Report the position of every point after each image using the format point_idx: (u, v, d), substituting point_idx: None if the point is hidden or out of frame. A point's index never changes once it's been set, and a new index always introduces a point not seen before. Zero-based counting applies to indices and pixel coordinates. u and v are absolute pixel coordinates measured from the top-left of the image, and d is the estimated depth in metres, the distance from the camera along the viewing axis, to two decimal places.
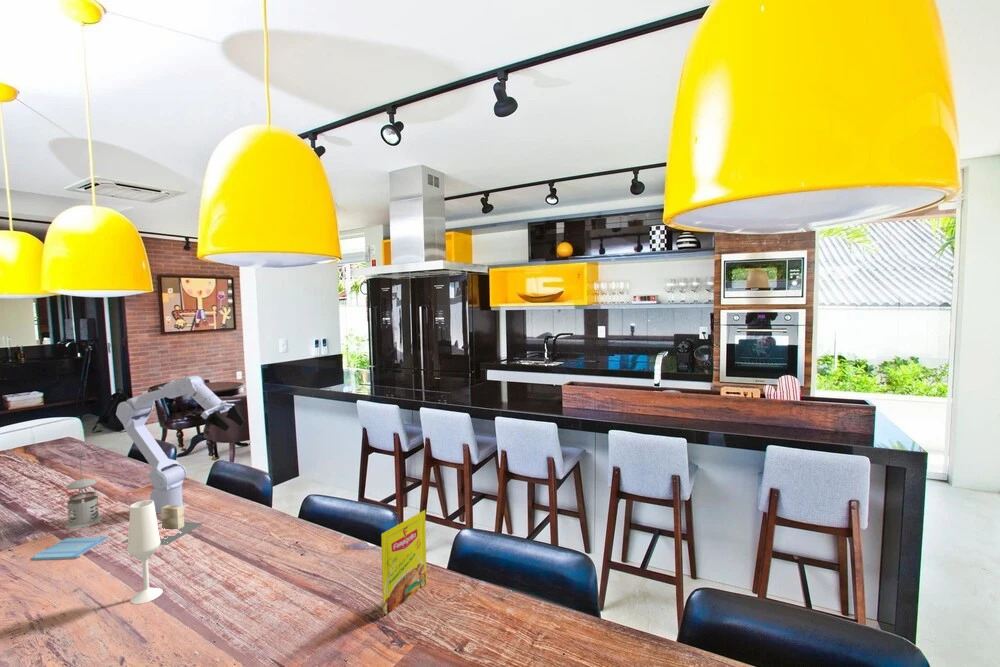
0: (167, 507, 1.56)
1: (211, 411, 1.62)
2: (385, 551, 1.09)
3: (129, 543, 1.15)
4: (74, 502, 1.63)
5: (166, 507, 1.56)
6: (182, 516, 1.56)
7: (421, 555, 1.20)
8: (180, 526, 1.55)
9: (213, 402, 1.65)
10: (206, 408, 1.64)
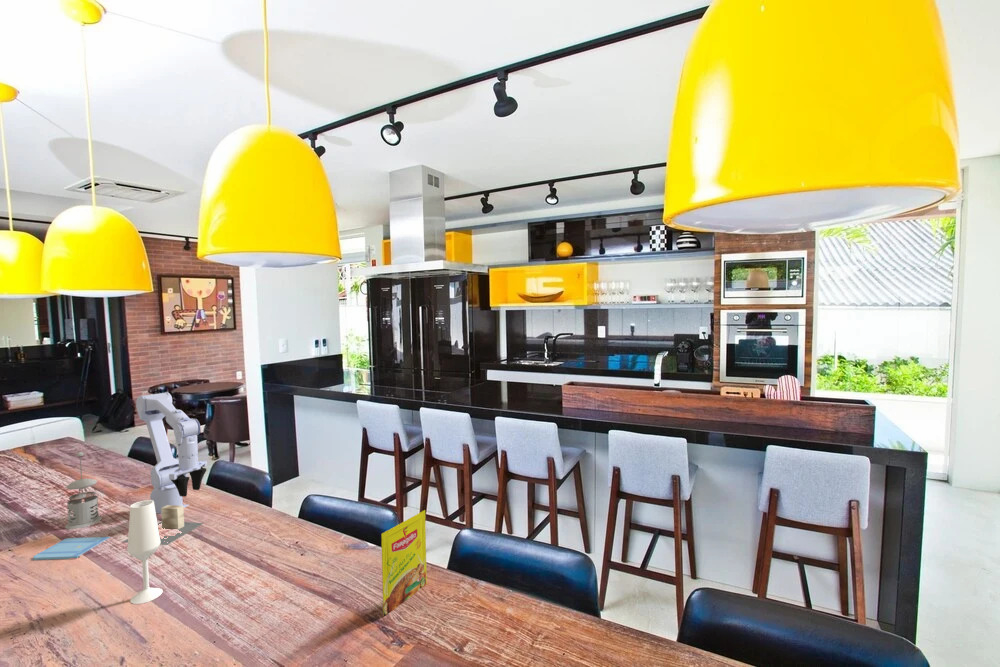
0: (167, 507, 1.56)
1: (181, 473, 1.59)
2: (385, 551, 1.09)
3: (129, 543, 1.15)
4: (74, 502, 1.63)
5: (166, 507, 1.56)
6: (182, 516, 1.56)
7: (421, 555, 1.20)
8: (180, 526, 1.55)
9: (189, 464, 1.61)
10: (180, 463, 1.60)
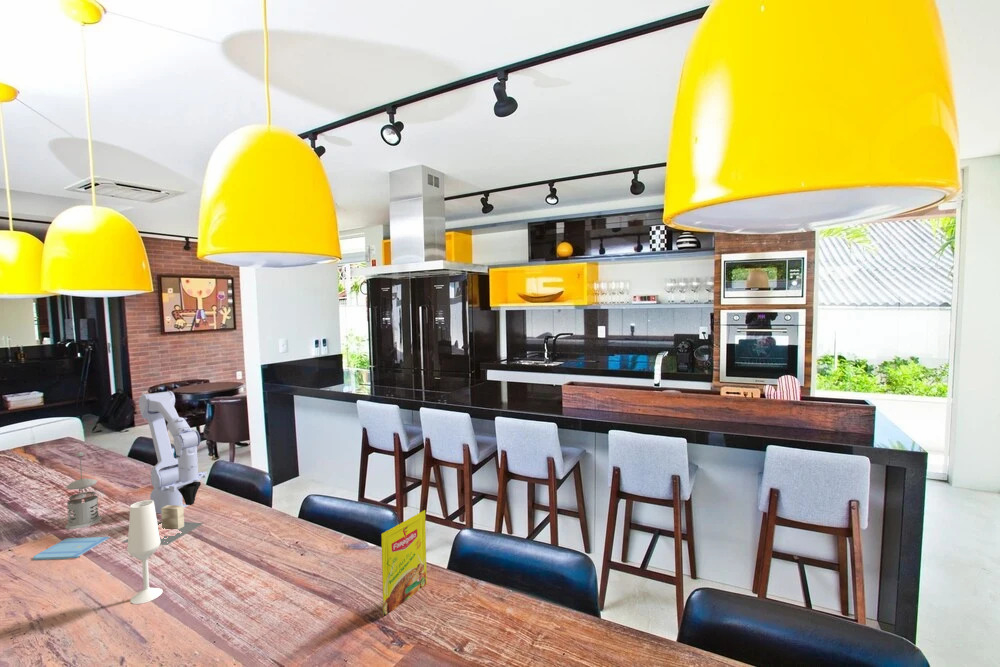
0: (167, 507, 1.56)
1: None
2: (385, 551, 1.09)
3: (129, 543, 1.15)
4: (74, 502, 1.63)
5: (166, 507, 1.56)
6: (182, 516, 1.56)
7: (421, 555, 1.20)
8: (180, 526, 1.55)
9: (189, 475, 1.60)
10: (180, 475, 1.60)
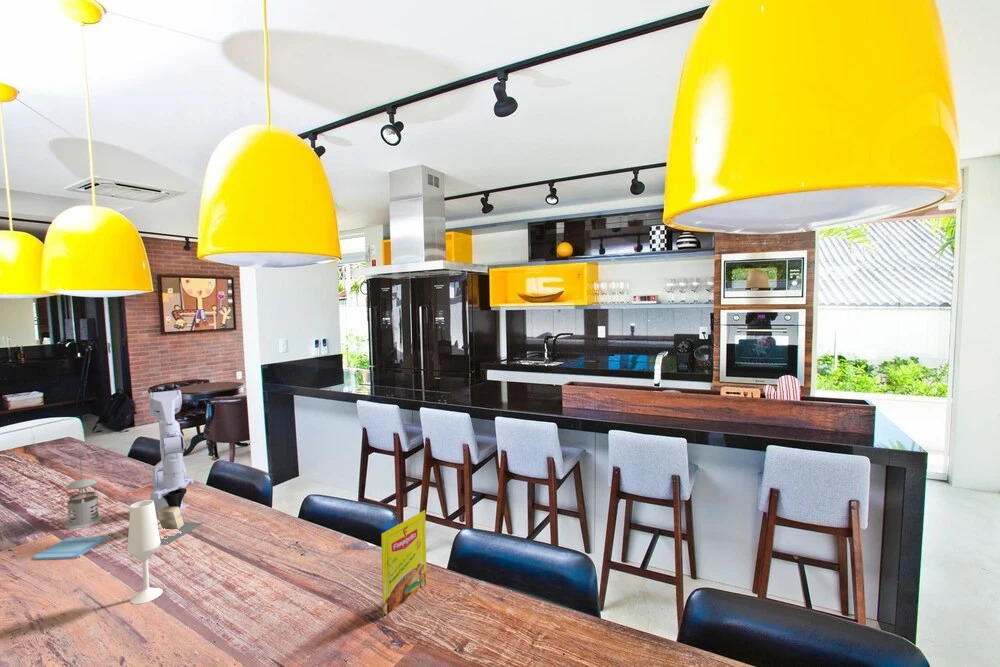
0: (163, 509, 1.54)
1: None
2: (385, 551, 1.09)
3: (129, 543, 1.15)
4: (74, 502, 1.63)
5: (162, 509, 1.54)
6: (180, 516, 1.55)
7: (421, 555, 1.20)
8: (180, 526, 1.55)
9: (174, 482, 1.54)
10: (164, 481, 1.54)
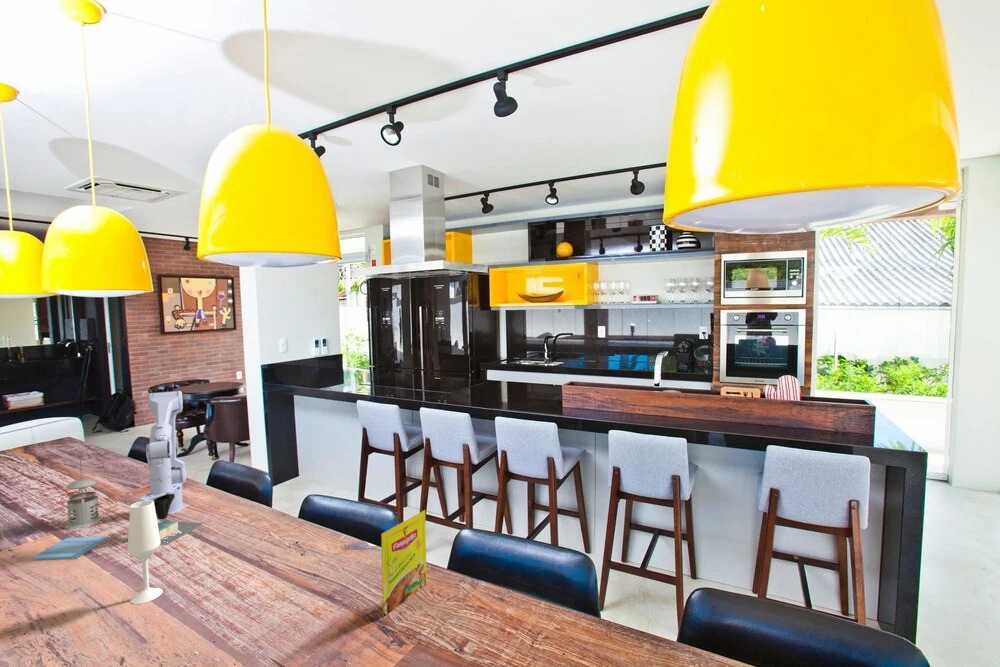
0: None
1: None
2: (385, 551, 1.09)
3: (129, 543, 1.15)
4: (74, 502, 1.63)
5: None
6: (168, 528, 1.51)
7: (421, 555, 1.20)
8: (176, 527, 1.54)
9: (161, 487, 1.49)
10: (151, 487, 1.49)
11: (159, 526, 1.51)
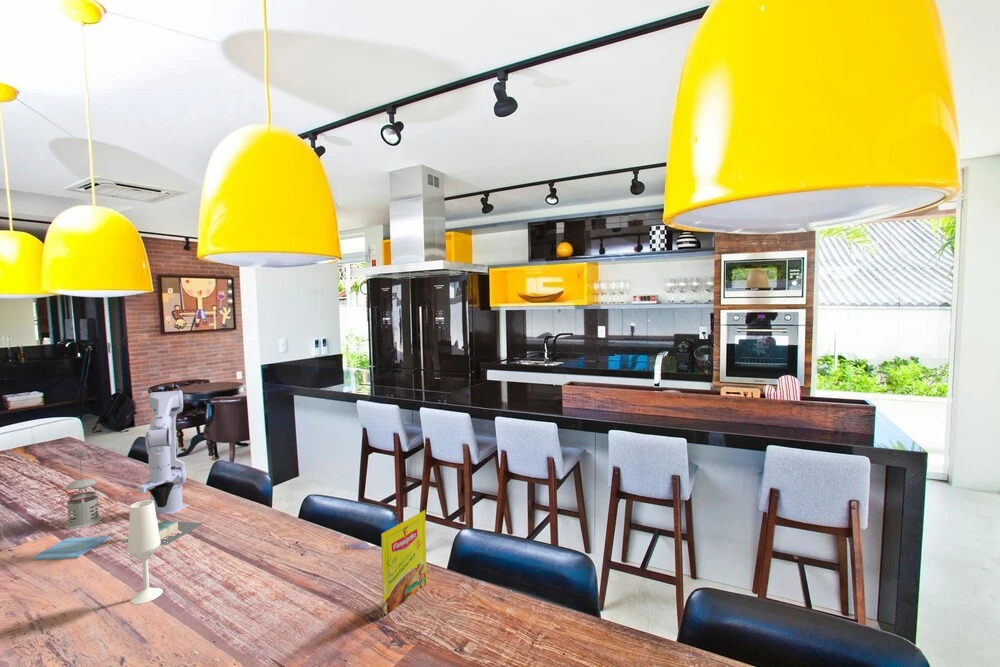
0: None
1: None
2: (385, 551, 1.09)
3: (129, 543, 1.15)
4: (74, 502, 1.63)
5: None
6: (168, 528, 1.51)
7: (421, 555, 1.20)
8: (176, 527, 1.54)
9: (160, 475, 1.49)
10: (150, 475, 1.49)
11: (159, 526, 1.51)
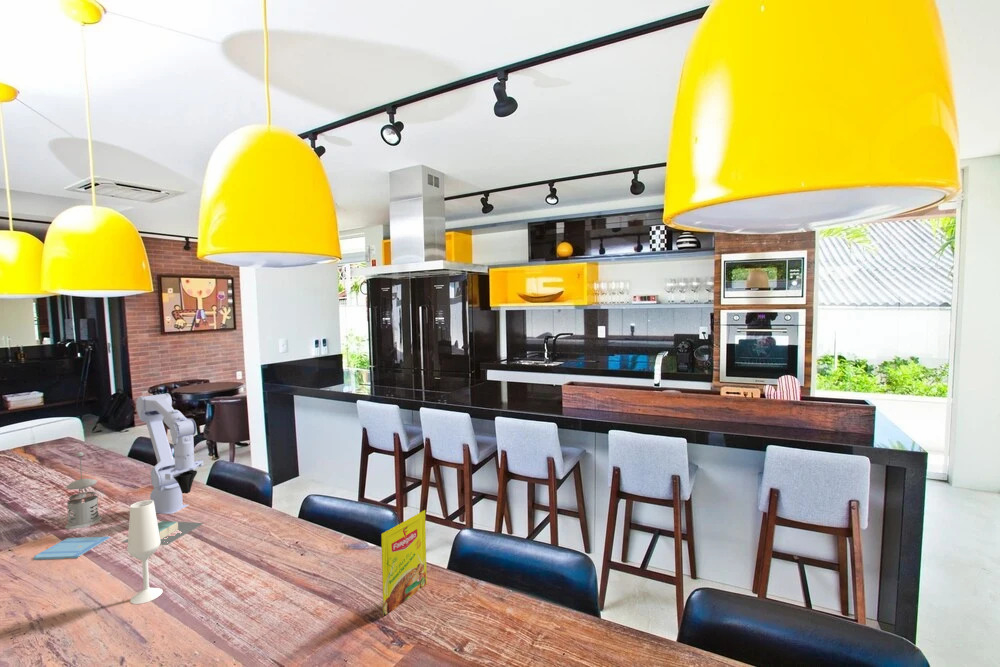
0: None
1: None
2: (385, 551, 1.09)
3: (129, 543, 1.15)
4: (74, 502, 1.63)
5: None
6: (168, 528, 1.51)
7: (421, 555, 1.20)
8: (176, 527, 1.54)
9: (185, 463, 1.61)
10: (176, 463, 1.60)
11: (159, 526, 1.51)
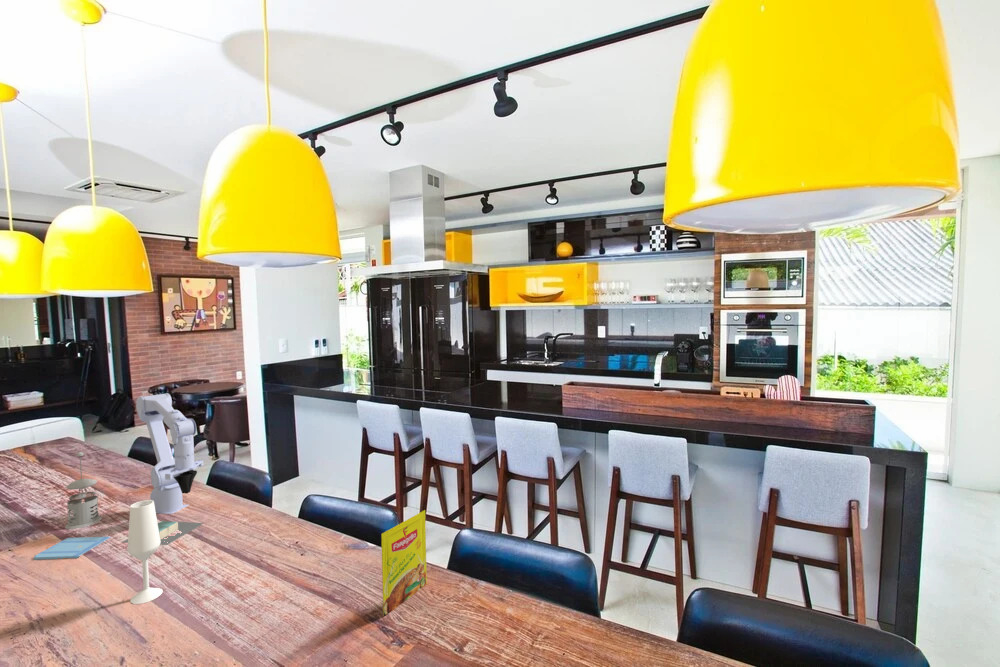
0: None
1: None
2: (385, 551, 1.09)
3: (129, 543, 1.15)
4: (74, 502, 1.63)
5: None
6: (168, 528, 1.51)
7: (421, 555, 1.20)
8: (176, 527, 1.54)
9: (185, 463, 1.61)
10: (176, 463, 1.60)
11: (159, 526, 1.51)
